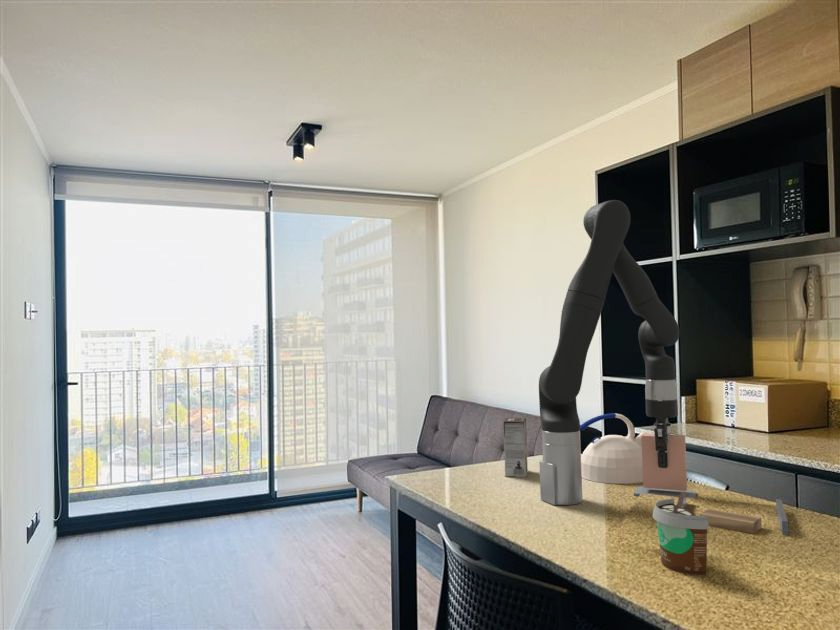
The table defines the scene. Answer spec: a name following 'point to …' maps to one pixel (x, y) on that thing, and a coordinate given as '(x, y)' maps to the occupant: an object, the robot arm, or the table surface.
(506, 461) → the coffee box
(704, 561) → the food container
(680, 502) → the rack
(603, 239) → the robot arm
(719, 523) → the offcut top
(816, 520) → the table surface
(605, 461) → the kettle
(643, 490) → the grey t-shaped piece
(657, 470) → the tall sheet
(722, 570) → the table surface
